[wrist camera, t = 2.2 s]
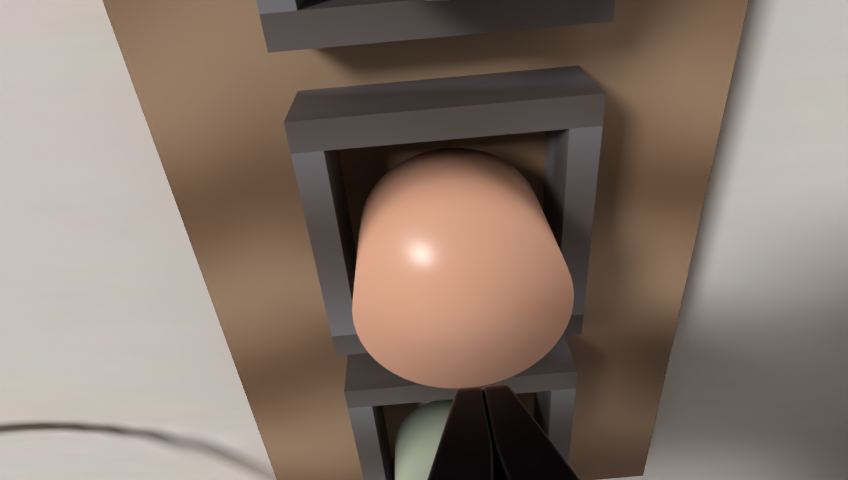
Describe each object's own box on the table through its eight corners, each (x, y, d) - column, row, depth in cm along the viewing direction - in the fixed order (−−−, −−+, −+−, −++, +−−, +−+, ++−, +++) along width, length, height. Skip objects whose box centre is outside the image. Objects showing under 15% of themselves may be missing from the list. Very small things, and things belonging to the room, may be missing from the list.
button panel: (625, 433, 24) (663, 524, 20) (294, 461, 24) (277, 557, 20) (806, -565, 10) (1031, -803, 6) (-16, -486, 10) (-236, -679, 6)
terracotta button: (537, 294, 15) (567, 379, 12) (372, 308, 15) (367, 396, 12) (544, 139, 12) (581, 205, 10) (347, 156, 13) (335, 227, 10)
